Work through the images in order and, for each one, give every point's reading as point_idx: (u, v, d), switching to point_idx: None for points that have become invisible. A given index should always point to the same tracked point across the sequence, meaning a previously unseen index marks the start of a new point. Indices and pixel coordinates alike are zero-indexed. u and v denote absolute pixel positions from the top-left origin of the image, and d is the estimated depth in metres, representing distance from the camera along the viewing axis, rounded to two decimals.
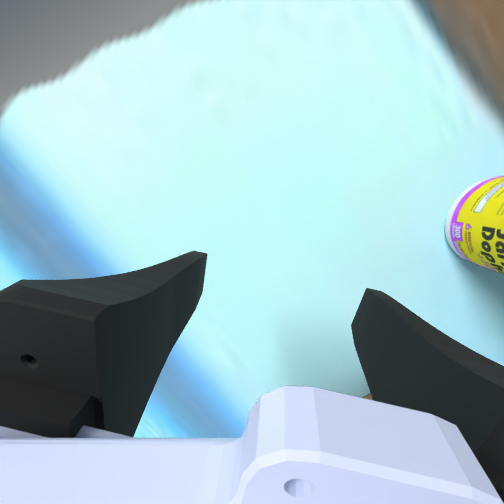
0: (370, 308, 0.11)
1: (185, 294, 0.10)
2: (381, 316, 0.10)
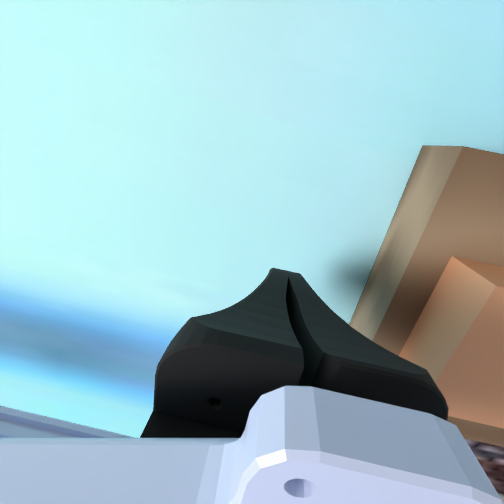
0: None
1: None
2: (287, 296, 0.10)
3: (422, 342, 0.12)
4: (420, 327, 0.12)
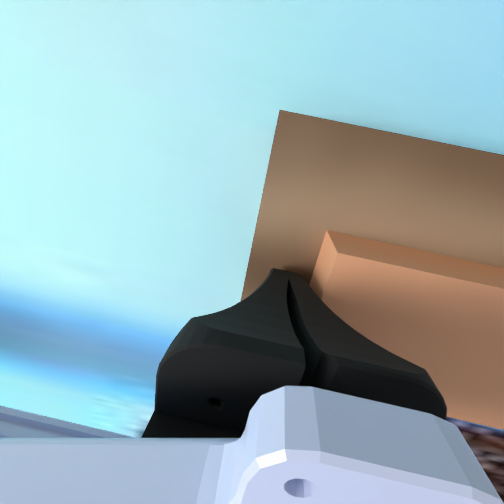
0: None
1: None
2: (287, 295, 0.10)
3: None
4: None
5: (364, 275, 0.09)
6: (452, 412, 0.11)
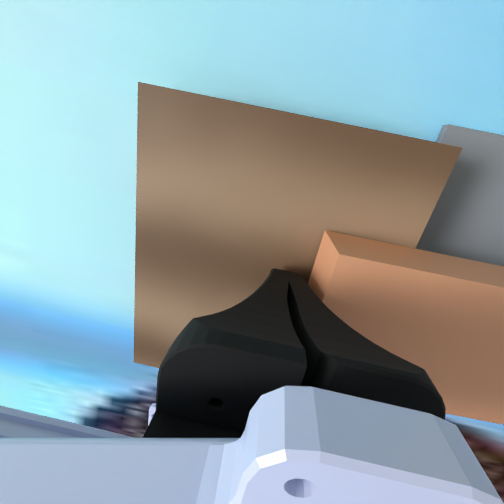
0: None
1: None
2: (286, 295, 0.10)
3: None
4: None
5: (365, 276, 0.09)
6: (450, 409, 0.11)
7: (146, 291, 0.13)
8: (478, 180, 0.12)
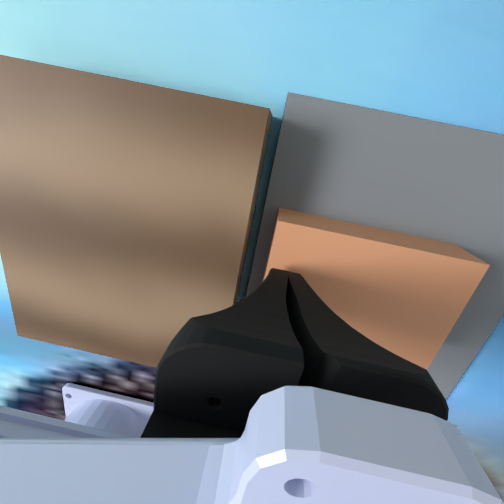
0: None
1: None
2: (287, 296, 0.10)
3: None
4: (265, 270, 0.15)
5: (300, 239, 0.12)
6: None
7: (13, 262, 0.14)
8: (326, 149, 0.12)
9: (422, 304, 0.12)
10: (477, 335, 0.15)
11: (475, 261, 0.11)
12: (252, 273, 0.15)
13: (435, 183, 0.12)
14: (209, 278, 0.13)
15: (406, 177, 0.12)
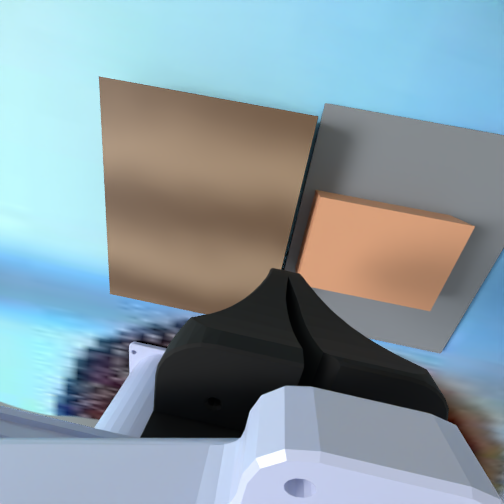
0: None
1: None
2: (287, 296, 0.10)
3: (302, 246, 0.19)
4: (303, 238, 0.19)
5: (336, 210, 0.16)
6: (395, 300, 0.18)
7: (115, 233, 0.18)
8: (353, 144, 0.17)
9: (426, 258, 0.16)
10: (469, 289, 0.19)
11: (464, 224, 0.15)
12: (292, 243, 0.20)
13: (435, 169, 0.17)
14: (266, 242, 0.17)
15: (412, 164, 0.17)
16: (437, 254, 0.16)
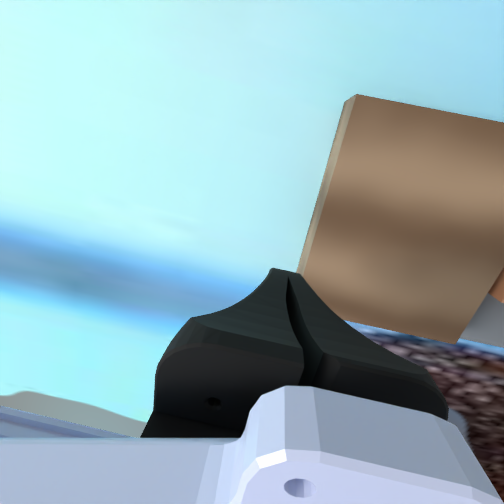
0: None
1: None
2: (287, 296, 0.10)
3: None
4: None
5: None
6: None
7: (319, 249, 0.18)
8: None
9: None
10: None
11: None
12: None
13: None
14: (484, 261, 0.17)
15: None
16: None
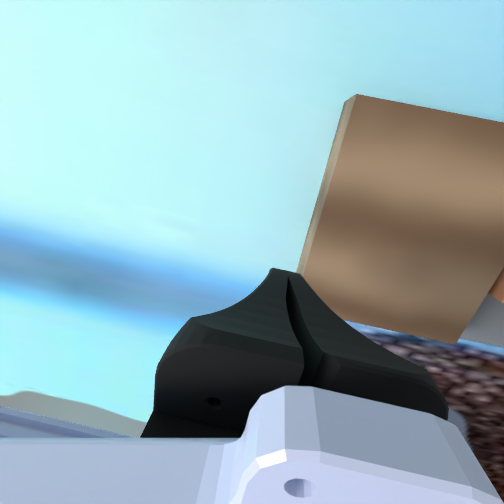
0: None
1: None
2: (287, 296, 0.10)
3: None
4: None
5: None
6: None
7: (319, 249, 0.18)
8: None
9: None
10: None
11: None
12: None
13: None
14: (484, 261, 0.17)
15: None
16: None
